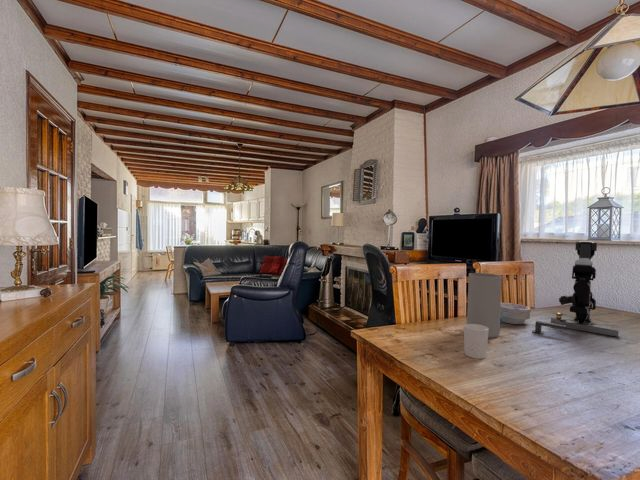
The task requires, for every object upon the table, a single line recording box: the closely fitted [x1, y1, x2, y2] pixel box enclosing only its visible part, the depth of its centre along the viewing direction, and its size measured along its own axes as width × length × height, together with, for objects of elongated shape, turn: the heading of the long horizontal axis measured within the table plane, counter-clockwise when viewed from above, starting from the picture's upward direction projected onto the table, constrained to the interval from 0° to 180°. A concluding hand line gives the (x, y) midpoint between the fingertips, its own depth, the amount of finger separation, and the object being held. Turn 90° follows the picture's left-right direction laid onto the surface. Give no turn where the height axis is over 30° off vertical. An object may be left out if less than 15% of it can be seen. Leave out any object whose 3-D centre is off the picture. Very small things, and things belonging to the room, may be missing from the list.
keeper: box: [531, 320, 567, 335], centre depth 144 cm, size 4×12×5 cm, turn 50°
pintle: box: [554, 311, 564, 319], centre depth 157 cm, size 7×7×6 cm
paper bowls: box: [500, 302, 531, 325], centre depth 163 cm, size 15×15×8 cm
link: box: [550, 316, 620, 338], centre depth 151 cm, size 24×6×3 cm, turn 47°
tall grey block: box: [466, 272, 503, 339], centre depth 143 cm, size 12×12×25 cm
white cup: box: [463, 323, 489, 360], centre depth 118 cm, size 8×8×10 cm
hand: (580, 325), depth 154 cm, fingers closed
